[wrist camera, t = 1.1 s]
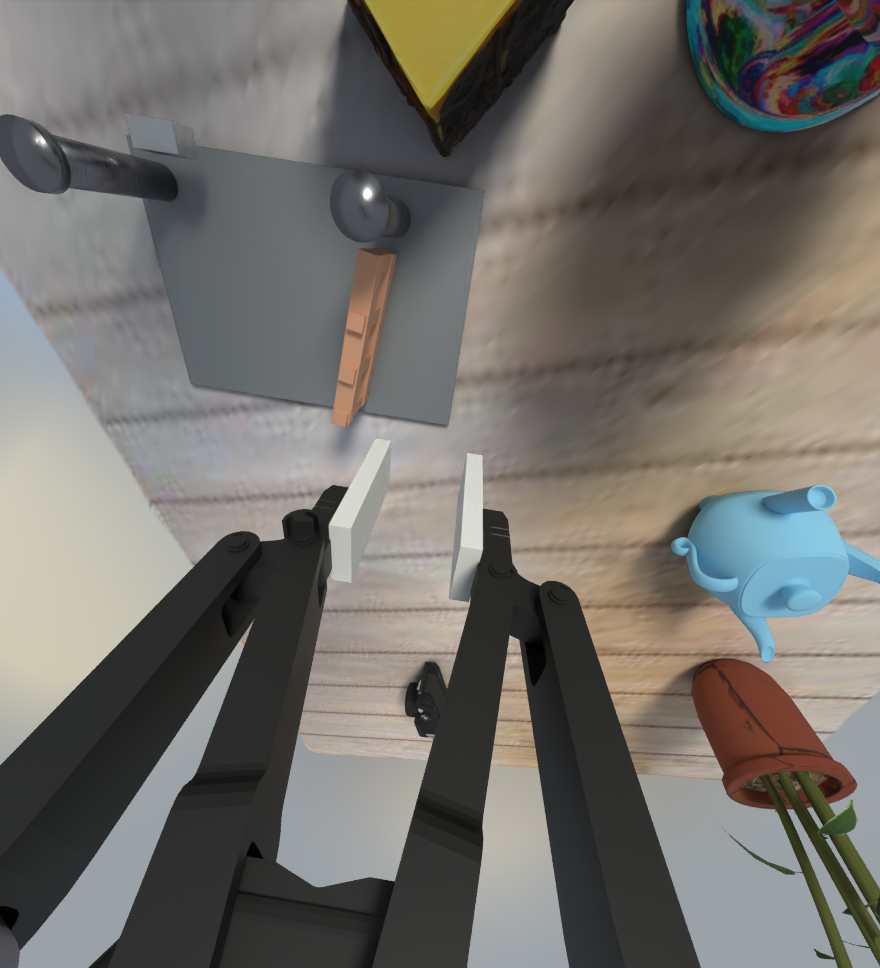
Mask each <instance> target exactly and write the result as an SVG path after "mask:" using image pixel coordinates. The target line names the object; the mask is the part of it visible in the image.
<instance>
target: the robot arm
mask: <svg viewBox="0 0 880 968" xmlns="http://www.w3.org/2000/svg"><path fill="white" fill-rule="evenodd" d="M390 455H391V441H389V440H383V439H377V438H376V439H375V441H374V443H373V445H372V447H371V449H370V450H369V452H368V454H367V456H366V458H365V459H364V461H363V463H362V465H361V467H360V469H359V470H358V472H357V474H356V476H355V478H354V480H353V481H352V483H351V485H350V487H349V488H348V487H342V486H336V485H333V486H331V487H329V488H328V489H326V490H325V491H324V492H323V493H322V495H321V497H320V498H319V500H318V501H317V503H316V504H315V507H313V509H312V510H309V509H301V510H296V511H293V512H291V513H289V514H287V515H286V516H285V517H284V518H283V520H282V524H283V531H284V538H285V539H282V540H275V541H262V542H260V540H259V537H258V536H257V535H256V534H254V533H251V532H245V531H241V532H235V533H232V534H229V535H227V536H225V537H224V538H222V539H221V540H220V541H219V542H218V543H217V544H216V545H215V546H214V547H213V548H212V549H211V550H210V551H209V552H208V553H207V554H206V555H205V556H204V557H203V558H202V559H201V560H200V561H199V562H198V563H197V564H196V565H195V566H194V567H193V568H192V569H191V570H190V571H189V572H188V573H187V575H185V576H184V578H183V579H182V580H181V581H180V582H179V583H178V584H177V585H176V586H175V587H174V588H173V589H172V590H171V591H170V592H169V593H168V594H167V595H166V596H165V597H164V598H163V599H162V600H161V601H160V602H159V603H158V604H157V605H156V606H155V607H154V608H153V609H152V610H151V611H150V612H149V613H148V614H147V615H146V616H145V618H143V619H142V621H141V622H140V623H139V624H138V625H137V626H136V627H135V628H134V629H133V630H132V631H131V632H130V633H129V634H128V635H127V636H126V637H125V638H124V639H123V640H122V641H121V642H120V643H119V644H118V645H117V646H116V647H115V648H114V649H113V650H112V651H111V652H110V653H109V655H107V656H106V657H105V658H104V659H103V661H102V662H101V663H100V664H99V665H98V666H97V667H96V668H95V669H94V670H93V671H92V672H91V673H90V674H89V675H88V676H87V677H86V678H85V679H84V680H83V681H82V682H81V683H80V684H79V685H78V686H77V687H76V688H75V689H74V690H73V691H72V692H71V693H70V694H69V696H67V698H65V700H64V701H63V702H62V703H61V704H60V705H59V706H58V707H57V708H56V709H55V710H54V711H53V712H52V713H51V714H50V715H49V716H48V717H47V718H46V719H45V720H44V721H43V722H42V723H41V724H40V725H39V726H38V727H37V728H36V729H35V730H34V731H33V732H32V733H31V734H30V735H29V737H27V738H26V740H25V741H24V742H23V743H22V744H21V745H20V746H19V747H18V748H17V749H16V750H15V751H14V752H13V753H12V754H11V755H10V756H9V757H8V758H7V759H6V760H5V761H4V762H3V763H2V764H1V765H0V968H18V965H19V954H20V950H21V949H22V948H23V946H24V945H25V944H26V943H27V942H28V941H29V940H30V938H32V937H33V935H34V934H35V933H36V932H37V931H38V930H39V928H40V927H41V926H42V924H43V923H44V922H45V921H46V920H47V918H48V917H49V916H50V915H51V914H52V912H53V911H54V910H55V908H56V907H57V906H58V905H59V904H60V902H61V901H62V900H63V899H64V897H65V896H66V895H67V894H68V892H69V891H70V889H71V888H72V887H73V885H74V884H75V883H76V881H77V880H78V878H79V877H80V876H81V874H82V873H83V871H84V870H85V869H86V867H87V866H88V864H89V862H91V860H92V859H93V857H94V856H95V854H96V853H97V851H98V850H99V848H100V847H101V845H102V844H103V842H104V841H105V840H106V838H107V837H108V835H109V833H110V832H111V831H112V829H113V828H114V826H115V824H116V823H117V822H118V820H119V819H120V817H121V815H122V814H123V813H124V811H125V810H126V808H127V807H128V805H129V804H130V802H131V801H132V799H133V798H134V796H135V795H136V793H137V792H138V791H139V789H140V788H141V786H142V785H143V783H144V782H145V780H146V779H147V777H148V776H149V774H150V773H151V771H152V770H153V768H154V767H155V765H156V764H157V762H158V761H159V759H160V758H161V756H162V755H163V753H164V752H165V750H166V749H167V748H168V746H169V745H170V743H171V742H172V740H173V738H174V737H175V736H176V734H177V733H178V731H179V730H180V728H181V727H182V725H183V724H184V722H185V721H186V719H187V718H188V716H189V715H190V713H191V712H192V710H193V709H194V707H195V706H196V704H197V703H198V701H199V700H200V699H201V697H202V696H203V694H204V692H205V691H206V690H207V688H208V687H209V685H210V684H211V682H212V681H213V679H214V678H215V676H216V675H217V673H218V672H219V670H220V669H221V667H222V666H223V664H224V663H225V661H226V660H227V658H228V657H229V656H230V654H231V653H232V651H233V650H234V648H235V646H236V645H237V644H238V642H239V641H240V639H241V638H242V636H243V635H244V633H245V632H246V630H247V629H248V627H249V626H250V624H251V623H252V621H253V620H254V621H253V624H252V627H251V629H250V632H249V635H248V637H247V640H246V643H245V645H244V648H243V651H242V653H241V656H240V659H239V662H238V664H237V667H236V670H235V672H234V675H233V678H232V680H231V683H230V685H229V688H228V691H227V693H226V696H225V699H224V701H223V704H222V707H221V710H220V712H219V715H218V717H217V720H216V723H215V726H214V728H213V731H212V733H211V736H210V739H209V742H208V744H207V747H206V750H205V752H204V755H203V757H202V760H201V763H200V766H199V768H198V770H197V772H196V774H195V776H194V777H193V779H192V780H190V781H189V782H188V783H187V784H186V785H185V786H183V788H182V789H181V791H180V792H179V794H178V795H177V797H176V799H175V801H174V804H173V806H172V808H171V810H170V813H169V815H168V818H167V820H166V823H165V825H164V828H163V830H162V833H161V835H160V838H159V840H158V843H157V845H156V848H155V850H154V853H153V855H152V858H151V860H150V863H149V866H148V868H147V871H146V873H145V876H144V878H143V881H142V883H141V886H140V888H139V891H138V893H137V896H136V898H135V901H134V904H133V906H132V908H131V911H130V913H129V916H128V918H127V921H126V924H125V926H124V929H123V931H122V934H121V936H120V938H119V939H118V940H117V941H116V942H115V943H114V944H113V945H112V946H111V947H110V948H109V949H108V950H107V951H105V952H104V953H103V954H102V955H101V956H100V957H99V958H98V959H97V960H96V961H95V962H94V963H93V964H92V965H91V966H90V967H89V968H467V962H468V954H469V947H470V940H471V939H470V938H471V933H472V925H473V918H474V910H475V903H476V896H477V889H478V882H479V874H480V867H481V859H482V850H483V831H482V822H483V813H484V807H485V800H486V792H487V786H488V779H489V772H490V765H491V758H492V752H493V745H494V738H495V731H496V724H497V717H498V710H499V703H500V696H501V690H502V683H503V676H504V669H505V662H506V655H507V648H508V641H509V635H511V636H513V637H515V638H517V639H519V641H520V647H521V654H522V661H523V667H524V674H525V681H526V687H527V694H528V701H529V707H530V714H531V721H532V727H533V734H534V741H535V747H536V754H537V761H538V767H539V774H540V781H541V787H542V794H543V801H544V807H545V814H546V821H547V827H548V834H549V841H550V847H551V854H552V861H553V868H554V874H555V881H556V888H557V893H558V901H559V908H560V914H561V921H562V928H563V934H564V940H565V946H566V951H567V957H568V962H569V968H701V967H700V964H699V961H698V958H697V955H696V952H695V949H694V946H693V943H692V940H691V937H690V934H689V931H688V928H687V925H686V922H685V919H684V916H683V913H682V910H681V907H680V904H679V901H678V898H677V895H676V892H675V889H674V886H673V883H672V880H671V877H670V874H669V871H668V868H667V865H666V862H665V858H664V855H663V853H662V849H661V847H660V844H659V840H658V837H657V835H656V832H655V828H654V825H653V822H652V819H651V816H650V813H649V810H648V807H647V804H646V802H645V799H644V795H643V792H642V789H641V786H640V783H639V780H638V777H637V774H636V771H635V768H634V765H633V762H632V759H631V756H630V753H629V750H628V747H627V744H626V741H625V738H624V735H623V732H622V729H621V726H620V723H619V720H618V717H617V714H616V711H615V708H614V705H613V702H612V699H611V696H610V693H609V690H608V687H607V684H606V681H605V678H604V675H603V672H602V669H601V666H600V663H599V660H598V657H597V654H596V651H595V648H594V645H593V642H592V639H591V636H590V633H589V630H588V627H587V624H586V621H585V618H584V615H583V612H582V609H581V606H580V603H579V600H578V597H577V596H576V594H575V592H574V591H573V590H572V589H571V588H570V587H568V586H567V585H565V584H563V583H561V582H557V581H547V582H545V583H542V585H541V586H539V585H537V584H534V583H532V582H530V581H528V580H526V579H524V578H523V577H521V576H520V575H519V574H518V573H517V570H516V568H515V567H514V565H513V564H512V556H511V545H510V538H509V536H510V535H509V525H508V519H507V518H506V516H505V515H504V513H503V512H500V511H494V510H488V509H483V467H482V455H476V454H470V453H467V456H466V461H465V466H464V471H463V476H462V481H461V487H460V492H459V497H458V506H457V517H456V528H455V539H454V549H453V560H452V571H451V582H450V593H449V599H453V600H459V601H465V602H469V599H470V596H471V600H470V607H469V611H468V615H467V618H466V622H465V626H464V629H463V633H462V637H461V640H460V644H459V648H458V651H457V655H456V659H455V662H454V666H453V670H452V673H451V677H450V681H449V684H448V688H447V692H446V696H445V699H444V703H443V707H442V710H441V714H440V718H439V721H438V725H437V729H436V732H435V736H434V740H433V743H432V747H431V751H430V754H429V758H428V762H427V766H426V769H425V773H424V777H423V780H422V784H421V788H420V791H419V795H418V799H417V802H416V806H415V810H414V813H413V817H412V821H411V825H410V828H409V832H408V836H407V839H406V843H405V846H404V850H403V854H402V858H401V861H400V865H399V868H398V872H397V876H396V879H395V882H394V881H388V880H383V879H377V878H370V877H369V878H364V879H359V880H354V881H350V882H345V883H340V884H335V885H330V886H326V887H320V888H319V887H314V886H312V885H311V884H309V883H308V882H306V881H305V880H303V879H301V878H300V877H298V876H297V875H295V874H294V873H292V872H291V871H289V870H287V869H286V868H284V867H282V866H281V865H280V864H278V863H276V859H277V853H278V848H279V841H280V832H281V817H282V809H283V804H284V799H285V794H286V789H287V784H288V779H289V774H290V769H291V764H292V759H293V755H294V750H295V745H296V740H297V735H298V730H299V725H300V720H301V715H302V710H303V705H304V700H305V695H306V690H307V686H308V681H309V676H310V671H311V666H312V661H313V656H314V651H315V646H316V641H317V636H318V631H319V626H320V621H321V616H322V612H323V607H324V602H325V597H326V592H327V578H328V576H329V574H330V572H331V576H332V580H337V581H343V582H349V583H352V580H353V578H354V575H355V572H356V570H357V567H358V565H359V562H360V559H361V557H362V554H363V552H364V549H365V547H366V544H367V541H368V539H369V536H370V534H371V531H372V528H373V526H374V523H375V521H376V518H377V515H378V513H379V510H380V508H381V505H382V502H383V500H384V497H385V495H386V492H387V490H388V487H389V472H390ZM254 618H255V619H254Z"/></svg>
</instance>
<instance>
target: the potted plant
mask: <svg viewBox="0 0 880 968" xmlns="http://www.w3.org/2000/svg"><path fill="white" fill-rule="evenodd" d="M691 692H692V696H693V700H694V704H695V707H696V711H697V715H698V717H699V720H700V722H701V724H702V727H703V729H704V731H705V733H706V736H707V738H708V740H709V742H710V745H711V747H712V749H713V751H714V753H715V756H716V758H717V760H718V762H719V764H720V766H721V769H722V771H723V773H724V775H723V778H722V782H723V785H724V787H725V790H726V792H727V795H728V796H729V797H730V798H731V799H732V800H734V801H736V802H738V803H740V804H743V805H747V806H751V807H757V808H765V809H776V811H777V812H778V814H779V816H780V819H781V821H782V824H783V826H784V828H785V831H786V833H787V835H788V838H789V840H790V843H791V845H792V847H793V850H794V852H795V855H796V857H797V860H798V862H799V864H800V867H801V869H802V873H803V874H804V877H805V879H806V882H807V885H808V887H809V890H810V892H811V895H812V897H813V899H814V902H815V905H816V907H817V910H818V912H819V916H820V918H821V921H822V924H823V926H824V929H825V931H826V934H827V937H828V939H829V942H830V945H831V948H832V951H833V954H834V957H835V958H834V957H831V956H828V955H826V954H823V953H820V952H819V951H817V950H815V949H814V950H815V952H816V955H817V956H818V957H819V958H823V959H835V960H836V963H837V967H838V968H852V965H851V962H850V960H849V957H848V954H847V952H846V949H845V947H844V944H843V941H842V939H841V936H840V934H839V932H838V929H837V926H836V924H835V921H834V919H833V916H832V914H831V911H830V909H829V906H828V904H827V901H826V899H825V897H824V894H823V892H822V889H821V887H820V885H819V882H818V880H817V877H816V875H815V873H814V870H813V868H812V866H811V863H810V861H809V859H808V856H807V854H806V852H805V850H804V847H803V845H802V842H801V840H800V838H799V836H798V833H797V831H796V829H795V827H794V825H793V822H792V820H791V818H790V816H789V814H788V812H787V810H786V809H794V811H795V813H796V814H797V816H798V818H799V820H800V822H801V824H802V825H803V827H804V829H805V831H806V833H807V834H808V836H809V838H810V840H811V842H812V843H813V845H814V847H815V849H816V851H817V852H818V854H819V856H820V858H821V860H822V862H823V863H824V865H825V867H826V869H827V871H828V872H829V874H830V876H831V878H832V880H833V881H834V883H835V885H836V887H837V889H838V891H839V893H840V894H841V896H842V898H843V900H844V902H845V903H846V905H847V907H848V908H847V909H846V910H845V911H844V912H843V913H845V914H849V915H852V916H853V918H854V920H855V921H856V923H857V925H858V927H859V929H860V931H861V933H862V934H863V936H864V938H865V940H866V942H867V943H868V945H869V947H866V946H861V947H865V948H870V949H871V951H872V953H873V954H874V956H875V958H876V960H877V962H878V963H879V965H880V930H879V928H878V927H877V925H876V924H875V922H874V920H873V919H872V917H871V915H870V914H869V912H868V910H867V909H866V908H867V907H869V906H870V908H871V910H872V912H873V913H874V915H875V917H876V919H877V920H878V922H879V924H880V889H879V887H878V885H877V884H876V882H875V880H874V879H873V877H872V875H871V874H870V872H869V870H868V869H867V867H866V865H865V864H864V862H863V860H862V859H861V857H860V856H859V854H858V852H857V850H856V849H855V847H854V845H853V844H852V842H851V841H850V839H849V837H848V835H847V834H846V833H848V832H850V831H851V830H853V829H854V828H855V826H856V823H857V821H858V820H857V817H856V814H855V811H854V806H853V800H851V801H850V803H849V804H848V806H847V808H846V809H845V810H843V811H842V812H840V813H839V814H838V815H836V816H835V814H834V812H833V810H832V809H831V807H830V806H829V804H830V803H833V802H836V801H839V800H841V799H843V798H845V797H847V796H849V795H850V794H851V793H853V792H854V791H855V789H856V787H857V783H856V781H855V779H854V778H853V777H852V775H851V774H850V772H849V771H848V770H847V769H846V768H845V766H843V765H842V764H841V763H839V762H836V761H834V760H833V758H832V757H831V755H830V754H829V752H828V751H827V749H826V748H825V746H824V745H823V744H822V742H821V741H820V739H819V738H818V736H817V735H816V733H815V732H814V730H813V729H812V728H811V726H810V725H809V723H808V722H807V720H806V719H805V718H804V716H803V715H802V713H801V712H800V710H799V709H798V708H797V706H796V705H795V703H794V702H793V701H792V699H791V698H790V697H789V695H788V694H787V693H786V692H785V691H784V690H783V689H782V688H781V687H780V686H779V685H778V684H777V683H776V681H775V680H774V679H773V678H772V677H771V676H770V675H768V674H767V673H765V672H764V671H762V670H760V669H759V668H757V667H755V666H754V665H752V664H750V663H747V662H743V661H740V660H735V659H719V660H714V661H711V662H709V663H706V664H704V665H703V666H702V667H701V668H700V669H699V670H698V671H697V672H696V674H695V675H694V678H693V685H692V691H691ZM809 807H813V809H814V811H815V812H816V814H817V816H818V817H819V819H820V821H821V823H822V824H823V827H822V828H821V829H820V830H819V828H818V827H817V825H816V823H815V821H814V820H813V818H812V816H811V815H810V813H809V812H808V810H807V808H809ZM822 834H826V835H829V836H830V838H831V840H832V842H833V844H834V845H835V847H836V849H837V851H838V852H839V854H840V856H841V857H842V859H843V861H844V863H845V864H846V866H847V868H848V870H849V871H850V873H851V875H852V877H853V878H854V880H855V882H856V884H857V885H858V887H859V889H860V891H861V892H862V894H863V896H864V897H865V899H866V901H867V903H868V905H864V904H863V902H862V900H861V899H860V897H859V895H858V894H857V892H856V890H855V889H854V887H853V885H852V884H851V882H850V881H849V879H848V877H847V875H846V874H845V872H844V870H843V869H842V867H841V865H840V863H839V862H838V860H837V858H836V857H835V855H834V853H833V852H832V850H831V848H830V847H829V845H828V843H827V842H826V840H825V839H827V837H823V836H825V835H822ZM730 837H732V836H730ZM732 838H733V837H732ZM733 839H734V838H733ZM734 840H735V839H734ZM735 841H736V840H735ZM736 842H737V843H738V844H739V845H740V846H741V847H743V848H744V849H745V850H746V851H747V852H748V853H749V854H750V855H752V856H753V857H754V858H755V859H757V860H759V861H761V862H763V863H765V864H767V865H769V866H770V867H772V868H774V869H776V870H778V871H780V872H782V873H785V874H789V875H795V873H796V872H793V871H791V870H789V869H787V868H784V867H781V866H778V865H775V864H772V863H769V862H767V861H765V860H764V859H762V858H760V857H759V856H757V855H755V854H754V853H752V852H750V851H749V850H747V849H746V848H745V847H744V846H742V845H741V844H740V843H739V842H738V841H736ZM798 873H799V872H798ZM800 873H801V872H800ZM858 946H860V945H858Z"/></svg>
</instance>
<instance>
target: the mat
mask: <svg viewBox="0 0 880 968" xmlns="http://www.w3.org/2000/svg"><path fill="white" fill-rule="evenodd" d="M126 137H127V140H128V144H129V148H130V152H131V155H132V156H136V157H140V158H144V159H148V160H151V161H155V162H159V163H162V164H164V165H165V166H167V167H168V168H169V169H170V171H171V172H172V173H173V175H174V177H175V179H176V181H177V185H178V194H177V197H176V198H175V200H173V201H171V202H166V201H159V200H152V199H145V198H143V202H144V206H145V210H146V213H147V217H148V221H149V225H150V229H151V233H152V236H153V240H154V244H155V248H156V252H157V256H158V260H159V263H160V267H161V271H162V275H163V279H164V283H165V286H166V290H167V294H168V298H169V302H170V306H171V310H172V313H173V317H174V321H175V325H176V329H177V333H178V336H179V340H180V344H181V348H182V352H183V356H184V359H185V363H186V367H187V371H188V375H189V379H190V383H191V384H194V385H200V386H206V387H213V388H219V389H225V390H231V391H238V392H244V393H250V394H256V395H262V396H269V397H275V398H281V399H287V400H294V401H300V402H306V403H312V404H318V405H325V406H331V407H334V402H335V396H336V389H337V383H338V376H339V369H340V363H341V356H342V350H343V343H344V337H345V330H346V324H347V317H348V311H349V304H350V297H351V291H352V284H353V278H354V271H355V265H356V258H357V252H358V248H366V249H371V248H382V249H385V250H387V251H390V252H393V253H395V254H397V258H396V263H395V268H394V273H393V278H392V282H391V287H390V292H389V297H388V302H387V307H386V311H385V316H384V321H383V326H382V331H381V336H380V340H379V345H378V350H377V355H376V360H375V365H374V370H373V374H372V379H371V384H370V389H369V394H368V399H367V402H366V403H365V404H364V406H361V407H360V409H359V410H358V411H362V412H368V413H375V414H381V415H387V416H393V417H399V418H406V419H412V420H418V421H424V422H431V423H437V424H443V425H448V424H449V417H450V411H451V404H452V398H453V392H454V385H455V379H456V372H457V366H458V359H459V353H460V346H461V340H462V334H463V327H464V321H465V314H466V308H467V301H468V295H469V288H470V282H471V275H472V269H473V263H474V256H475V250H476V243H477V237H478V230H479V224H480V217H481V211H482V204H483V198H484V191H483V190H476V189H470V188H464V187H457V186H451V185H444V184H438V183H431V182H425V181H418V180H412V179H406V178H399V177H393V176H386V175H380V174H373V173H370V174H372V175H373V176H375V177H376V178H377V179H378V180H379V181H380V182H381V183H382V185H383V186H384V188H385V189H386V192H387V193H388V194H390V195H391V196H393V197H395V198H397V199H398V200H400V201H402V202H403V203H404V204H405V205H406V206H407V207H408V209H409V211H410V215H411V224H410V227H409V230H408V231H407V233H406V234H405V235H403V236H401V237H387V236H381V237H380V238H378V239H377V240H375V241H373V242H367V243H362V242H355V241H353V240H351V239H349V238H347V237H346V236H345V235H344V234H343V233H341V231H340V230H339V229H338V227H337V226H336V224H335V222H334V220H333V217H332V214H331V210H330V193H331V188H332V186H333V183H334V182H335V180H336V179H337V177H338V176H339V175H340V174H341V173H343V172H344V171H346V170H348V169H341V168H335V167H328V166H322V165H315V164H309V163H303V162H296V161H290V160H283V159H277V158H270V157H264V156H257V155H251V154H245V153H238V152H232V151H225V150H219V149H212V148H206V147H199V146H195V147H196V152H197V157H198V160H192V159H186V158H179V157H173V156H166V155H160V154H155V153H151V152H148V151H144V150H141V149H137V148H133V144H132V140H131V136H129V135H126Z"/></svg>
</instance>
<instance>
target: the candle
mask: <svg viewBox="0 0 880 968" xmlns="http://www.w3.org/2000/svg"><path fill="white" fill-rule="evenodd" d="M573 1H574V0H348V3H349V5H350V7H351V9H352V11H353V13H354V14H355V16H356V17H357V19H358V21H359V22H360V24H361V25H362V26H363V28H364V29H365V31H366V33H367V35H368V37H369V38H370V40H371V42H372V43H373V45H374V48H375V50H376V53H378V55H379V56H380V57H381V59H382V62H383V63H384V65H385V66H386V68H387V69H388V71H389V72H390V73H391V75H392V76H393V78H394V80H395V82H396V84H397V86H398V87H399V89H400V90H401V92H402V94H403V95H405V96H407V102H408V105H411V106H415V108H416V110H417V112H418V113H419V114H420V116H421V117H422V118H423V120H424V122H425V123H426V125H427V127H428V130H429V134H430V136H431V139H432V141H433V142H434V144H435V146H436V148H437V150H438V151H439V152H440V155H442V156H443V157H447V156H450V153H451V150H452V148H453V147H454V146H455V145H456V144H458V143H459V142H460V141H462V139H463V138H464V137H465V136H466V135H467V133H468V132H469V131H470V130H471V129H473V128H474V127H475V126H476V124H477V123H478V122H479V120H480V119H481V117H482V116H483V115H484V114H485V113H486V112H487V111H488V110H489V109H490V108H491V107H492V105H493V104H494V103H495V102H496V101H497V100H498V98H499V97H500V96H501V94H502V92H503V90H504V89H505V88H506V87H509V86H510V85H511V84H512V81H513V79H514V78H515V77H516V76H517V75H518V74H519V73H520V72H521V70H522V67H523V66H524V65H525V64H526V62H527V61H528V60H529V59H530V58H531V56H532V55H533V54H534V53H535V51H536V50H537V49H538V47H539V46H540V45H541V43H542V42H543V41H544V40H545V39H546V38H548V37H549V36H551V35H553V34H554V33H556V31H557V28H558V26H559V25H560V23H561V22H562V21H563V20H564V18H565V16H566V11H567V9H568V8H569V7H570V5H571V4H572V3H573Z"/></svg>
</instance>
